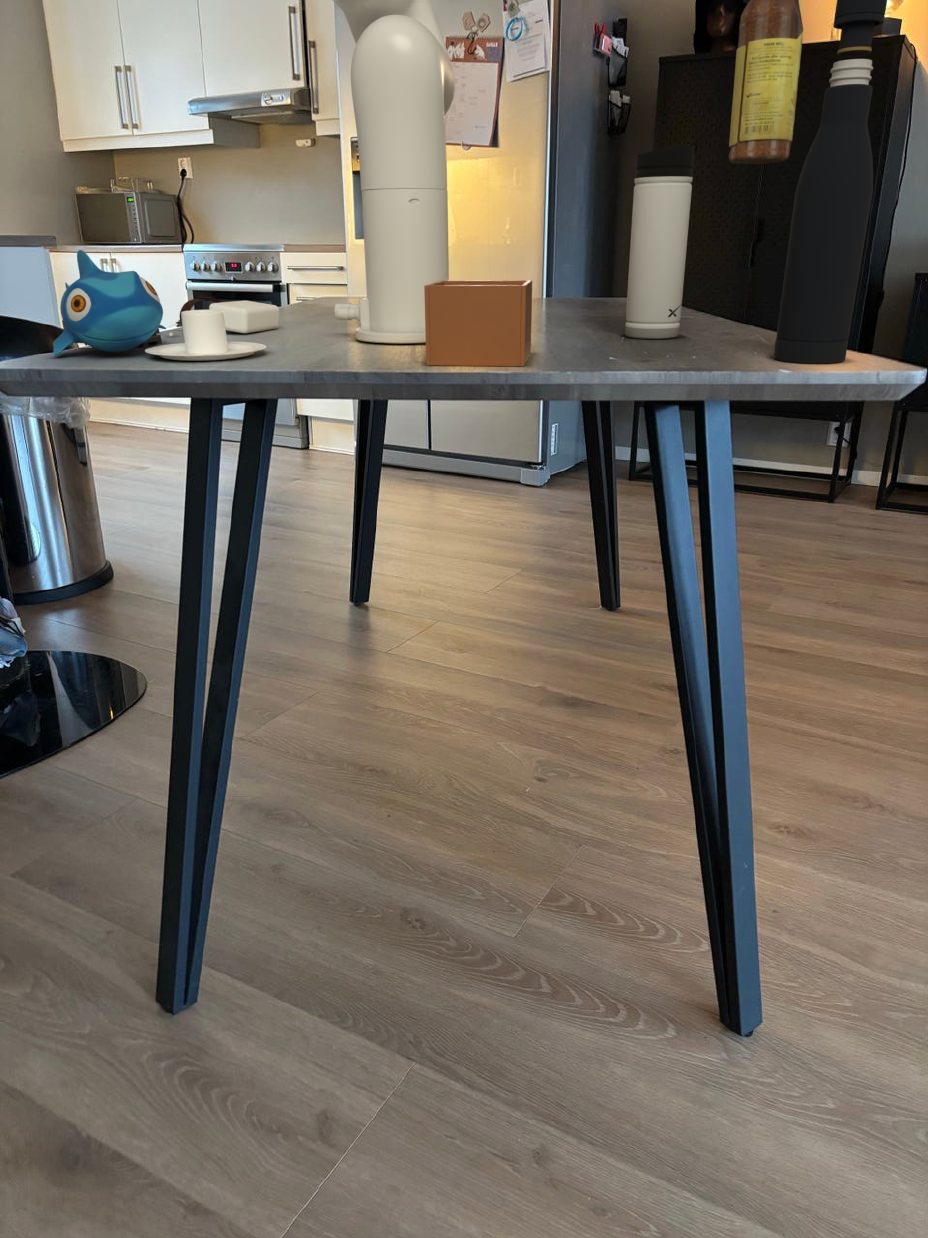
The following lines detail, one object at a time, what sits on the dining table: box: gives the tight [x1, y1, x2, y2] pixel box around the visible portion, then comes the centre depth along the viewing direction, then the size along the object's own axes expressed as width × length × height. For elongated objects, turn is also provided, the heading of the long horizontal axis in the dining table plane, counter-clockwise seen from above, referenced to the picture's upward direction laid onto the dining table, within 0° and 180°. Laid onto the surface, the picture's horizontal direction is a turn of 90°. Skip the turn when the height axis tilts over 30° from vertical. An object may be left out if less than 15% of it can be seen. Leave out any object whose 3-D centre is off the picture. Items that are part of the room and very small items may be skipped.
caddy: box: [424, 279, 533, 367], centre depth 84 cm, size 9×9×7 cm
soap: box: [208, 300, 280, 334], centre depth 112 cm, size 9×6×3 cm, turn 163°
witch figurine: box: [168, 319, 183, 338], centre depth 112 cm, size 5×12×2 cm, turn 175°
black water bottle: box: [773, 0, 888, 365], centre depth 77 cm, size 6×6×30 cm
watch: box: [179, 296, 223, 324], centre depth 111 cm, size 8×5×4 cm
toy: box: [52, 249, 167, 356], centre depth 90 cm, size 12×18×10 cm, turn 40°
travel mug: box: [624, 142, 699, 340], centre depth 98 cm, size 6×7×20 cm
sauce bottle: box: [728, 0, 804, 165], centre depth 87 cm, size 6×6×20 cm
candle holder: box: [144, 309, 267, 362], centre depth 88 cm, size 12×12×4 cm
